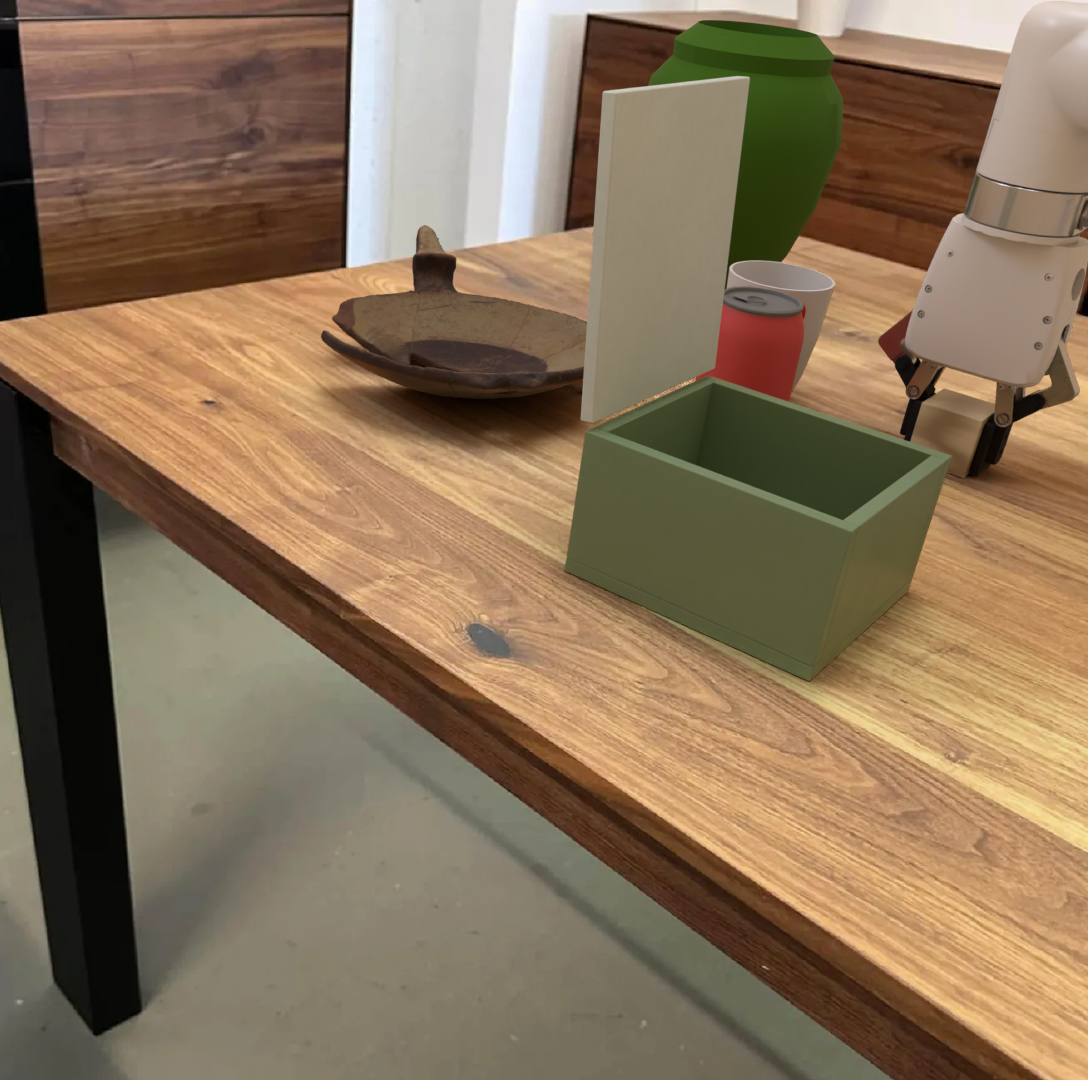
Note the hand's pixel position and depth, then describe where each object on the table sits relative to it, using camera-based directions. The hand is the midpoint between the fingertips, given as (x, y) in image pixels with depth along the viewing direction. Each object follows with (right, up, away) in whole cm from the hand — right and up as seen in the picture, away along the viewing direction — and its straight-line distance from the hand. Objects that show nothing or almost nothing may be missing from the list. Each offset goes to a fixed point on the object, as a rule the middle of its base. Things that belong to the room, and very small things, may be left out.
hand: (946, 455), depth 91 cm
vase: (-11, +22, +34) cm, 42 cm away
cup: (-12, +6, +8) cm, 16 cm away
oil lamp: (-36, +7, +7) cm, 37 cm away
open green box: (-20, -10, -19) cm, 29 cm away
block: (0, 0, 0) cm, 0 cm away
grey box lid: (-25, +8, -24) cm, 35 cm away
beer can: (-17, -1, -4) cm, 18 cm away
